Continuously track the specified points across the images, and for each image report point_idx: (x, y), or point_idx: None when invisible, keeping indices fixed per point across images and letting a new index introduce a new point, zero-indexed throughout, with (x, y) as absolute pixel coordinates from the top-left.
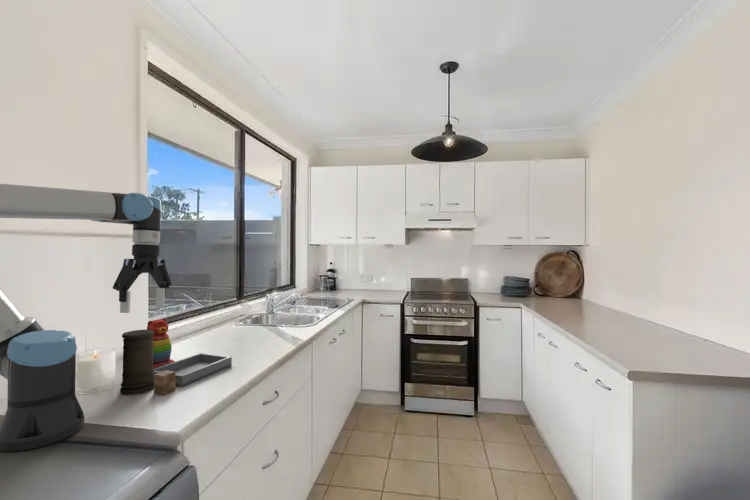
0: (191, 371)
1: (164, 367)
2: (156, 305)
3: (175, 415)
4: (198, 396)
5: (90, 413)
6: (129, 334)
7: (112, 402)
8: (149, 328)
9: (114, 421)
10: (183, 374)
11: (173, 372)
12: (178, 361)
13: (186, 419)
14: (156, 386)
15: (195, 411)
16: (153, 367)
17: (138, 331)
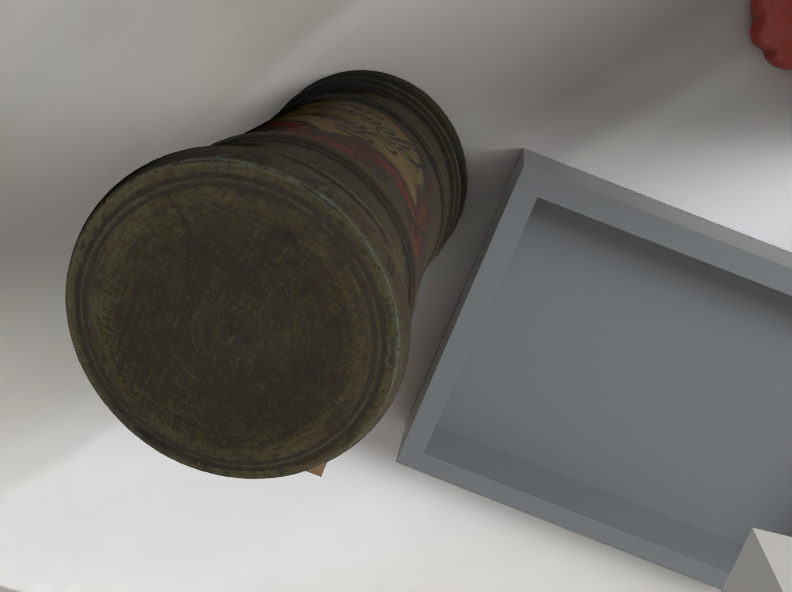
0: (490, 481)
1: (638, 233)
2: (757, 572)
3: (78, 525)
4: (279, 546)
5: (28, 125)
6: (96, 301)
7: (167, 145)
8: None
9: None
10: (428, 456)
11: (307, 470)
12: (775, 288)
13: (54, 576)
14: None
15: (124, 585)
16: (789, 52)
17: (265, 311)
